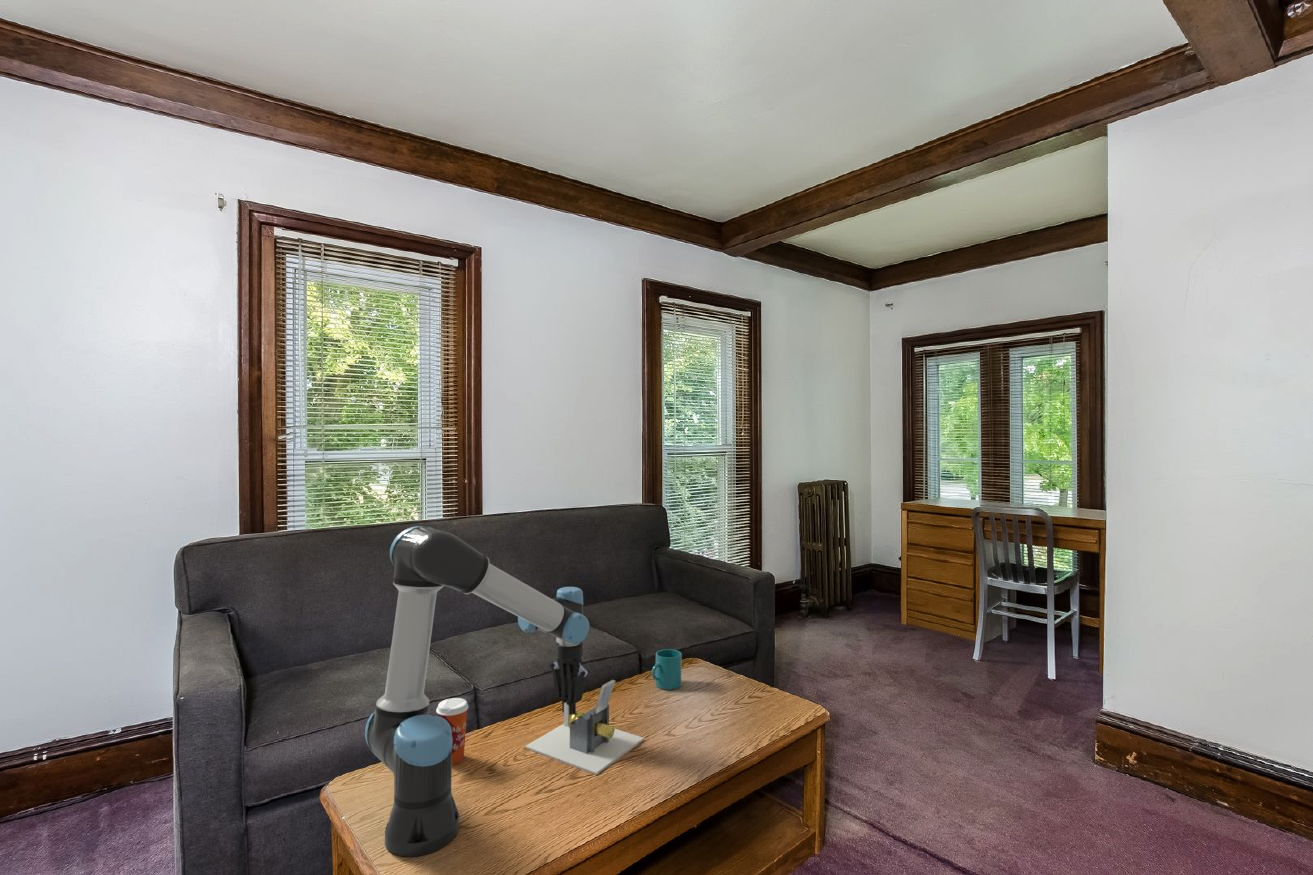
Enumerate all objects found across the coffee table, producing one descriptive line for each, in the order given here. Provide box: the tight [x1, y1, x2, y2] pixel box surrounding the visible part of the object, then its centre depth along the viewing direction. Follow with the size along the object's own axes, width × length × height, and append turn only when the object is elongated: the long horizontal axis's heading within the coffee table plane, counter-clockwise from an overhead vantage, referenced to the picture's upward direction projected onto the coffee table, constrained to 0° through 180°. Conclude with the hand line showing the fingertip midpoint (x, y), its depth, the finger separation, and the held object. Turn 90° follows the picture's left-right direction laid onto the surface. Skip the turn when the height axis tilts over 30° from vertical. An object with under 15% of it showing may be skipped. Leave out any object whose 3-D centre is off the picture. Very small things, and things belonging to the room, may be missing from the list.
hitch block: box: [570, 704, 610, 754], centre depth 171 cm, size 7×10×10 cm
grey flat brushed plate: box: [594, 679, 616, 714], centre depth 169 cm, size 1×5×8 cm, turn 147°
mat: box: [524, 723, 645, 776], centre depth 172 cm, size 22×25×1 cm
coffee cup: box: [435, 697, 469, 766], centre depth 164 cm, size 8×8×15 cm
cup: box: [651, 648, 683, 691], centre depth 213 cm, size 9×12×11 cm
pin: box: [569, 710, 615, 738], centre depth 171 cm, size 13×5×5 cm, turn 58°
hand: (568, 724), depth 176 cm, fingers closed
